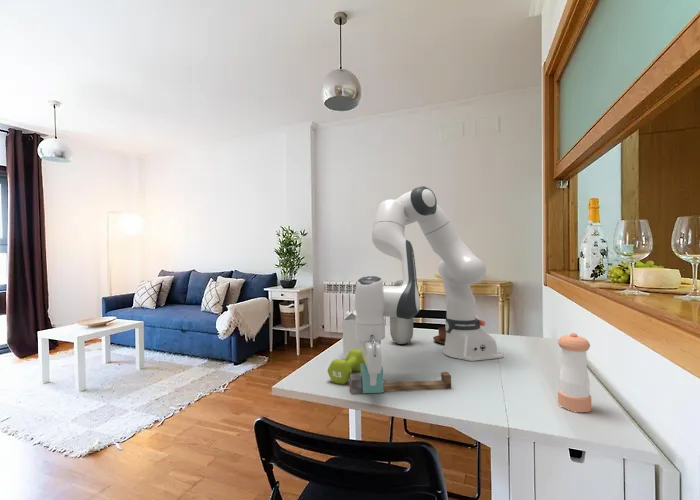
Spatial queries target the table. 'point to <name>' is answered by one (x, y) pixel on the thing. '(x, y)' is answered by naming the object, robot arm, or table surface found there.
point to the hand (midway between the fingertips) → (370, 378)
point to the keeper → (366, 384)
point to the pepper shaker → (574, 374)
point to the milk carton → (349, 333)
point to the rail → (403, 384)
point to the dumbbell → (345, 366)
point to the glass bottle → (401, 326)
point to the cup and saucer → (441, 336)
